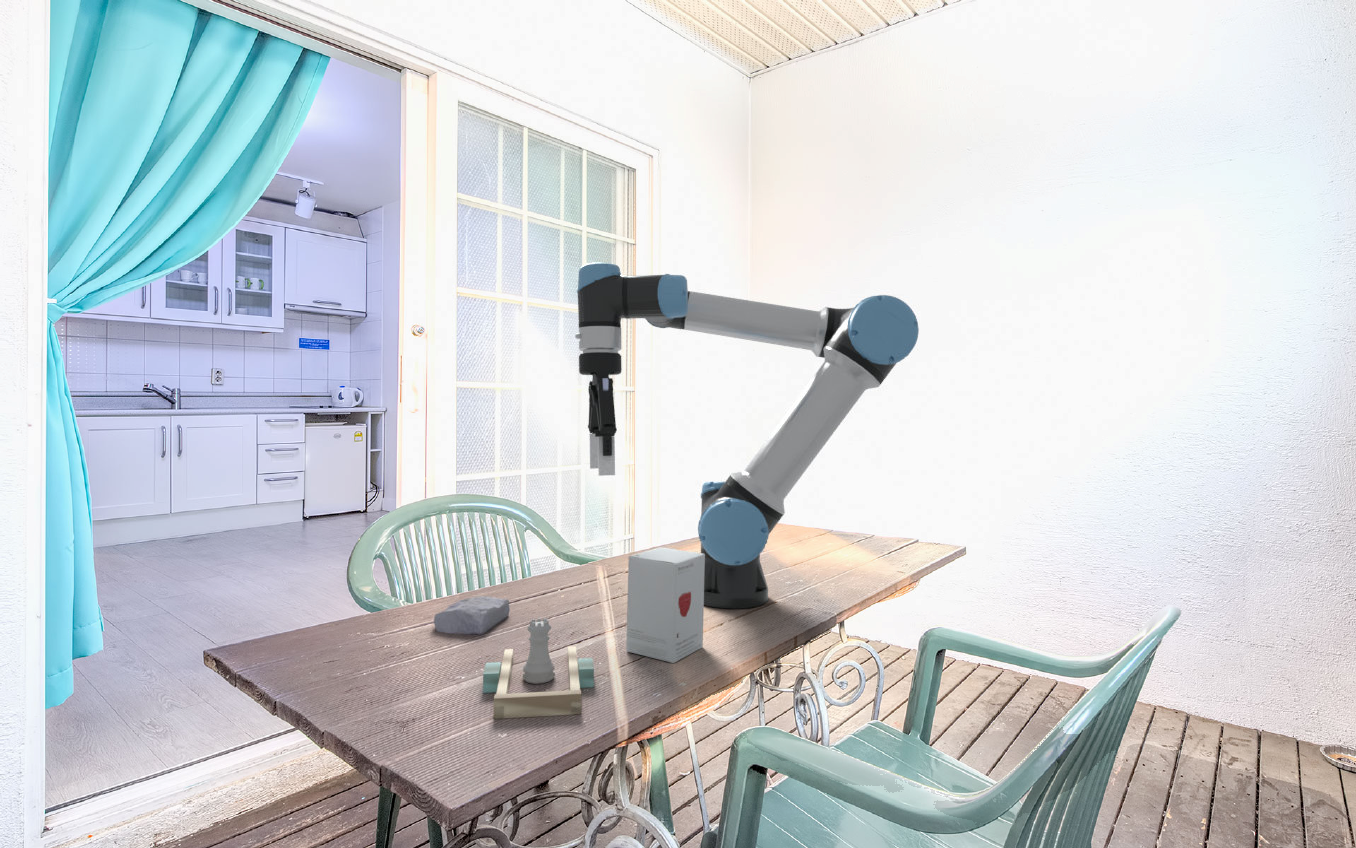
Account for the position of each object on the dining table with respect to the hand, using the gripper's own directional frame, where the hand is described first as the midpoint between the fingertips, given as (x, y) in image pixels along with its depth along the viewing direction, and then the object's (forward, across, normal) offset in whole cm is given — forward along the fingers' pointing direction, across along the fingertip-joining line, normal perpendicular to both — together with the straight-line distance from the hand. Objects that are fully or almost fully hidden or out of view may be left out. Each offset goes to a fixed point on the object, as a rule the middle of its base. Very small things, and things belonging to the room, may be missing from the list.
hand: (601, 471), depth 127 cm
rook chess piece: (+26, +28, -12) cm, 40 cm away
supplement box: (+26, +20, +7) cm, 34 cm away
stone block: (+26, 0, -23) cm, 34 cm away
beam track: (+26, +30, -12) cm, 41 cm away
